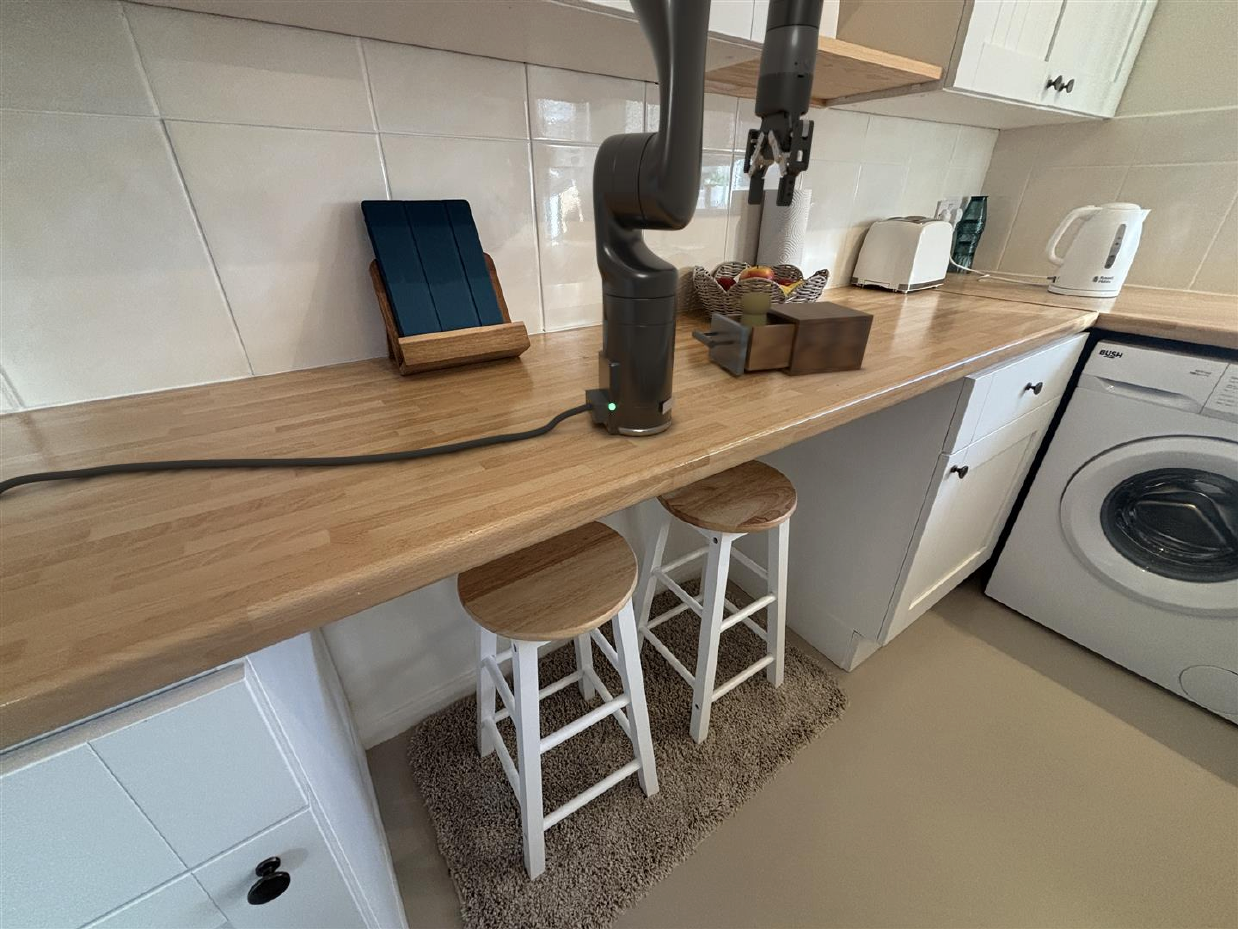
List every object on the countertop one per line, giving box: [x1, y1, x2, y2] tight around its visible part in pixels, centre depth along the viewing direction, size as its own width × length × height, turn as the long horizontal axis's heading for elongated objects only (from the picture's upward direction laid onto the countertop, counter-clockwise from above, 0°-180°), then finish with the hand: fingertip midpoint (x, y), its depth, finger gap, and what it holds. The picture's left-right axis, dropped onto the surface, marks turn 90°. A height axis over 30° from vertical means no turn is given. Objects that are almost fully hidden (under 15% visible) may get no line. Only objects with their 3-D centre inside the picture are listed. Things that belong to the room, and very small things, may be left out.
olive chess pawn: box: [739, 291, 772, 361], centre depth 86 cm, size 6×6×11 cm
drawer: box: [691, 312, 797, 376], centre depth 87 cm, size 18×11×8 cm, turn 106°
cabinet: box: [768, 300, 875, 377], centre depth 90 cm, size 15×13×10 cm
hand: (768, 205), depth 77 cm, fingers open, 8 cm apart
